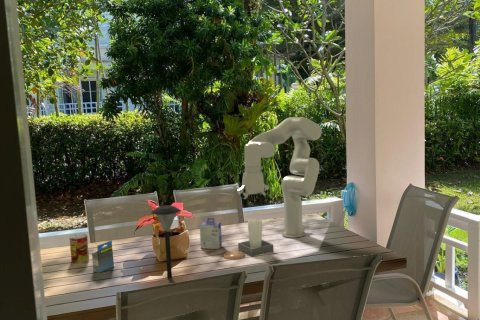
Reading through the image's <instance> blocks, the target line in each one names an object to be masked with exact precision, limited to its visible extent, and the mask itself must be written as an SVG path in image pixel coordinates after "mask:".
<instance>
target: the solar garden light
mask: <svg viewBox="0 0 480 320" xmlns="http://www.w3.org/2000/svg"><path fill="white" fill-rule="evenodd" d="M180 212H181V209H180V208H178V207H176V206H174V205H169V204H167V205H159V206H157V207H156V208H154V209H153V210H152V211H150V214H152V215H156V217H157V219H158V221H159V223H160V225H161V226H162V229H163V230H164V242H165V245H164V246H165V258H166V262H165V263H166V274H167V275H166V277H167V279H171V278H173V275H172V274H173V273H172V257H171V253H172V252H171V240H170V239H171V237H170V235H171V234H170V231H171V228H172V224H173V222H174V220H175V217H176V215H177V214H178V213H180Z"/></svg>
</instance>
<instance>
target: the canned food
mask: <svg viewBox="0 0 480 320" xmlns="http://www.w3.org/2000/svg"><path fill="white" fill-rule="evenodd" d="M69 247H70V258H71V259H70V261H71V263H72V264H76V265H78V264H86V263H88V262H89V261H90V253H89V251H90V250H89V239H88V234H87V233H76V234H72V235H70V236H69Z"/></svg>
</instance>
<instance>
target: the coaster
mask: <svg viewBox="0 0 480 320" xmlns="http://www.w3.org/2000/svg"><path fill="white" fill-rule="evenodd" d="M245 257H246V254H245V253H243V252H241V251H239V250H231V251H227V252H225V253H223V258H224V259H227V260H241V259H242V258H243V259H244V258H245Z"/></svg>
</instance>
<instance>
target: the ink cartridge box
mask: <svg viewBox="0 0 480 320" xmlns="http://www.w3.org/2000/svg"><path fill="white" fill-rule="evenodd" d="M199 237H200V239H199V240H200V249H207V250H208V249H210V250H211V249H214V250H215V249H216V250H219V249H221V248H222V247H223V241H222V240H223V239H222V237H223V236H222V223H221V222H215V218H214V217H211V218H210V217H208V218H207V221H206V222H204V221H203V222H201V223H200V224H199Z"/></svg>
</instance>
